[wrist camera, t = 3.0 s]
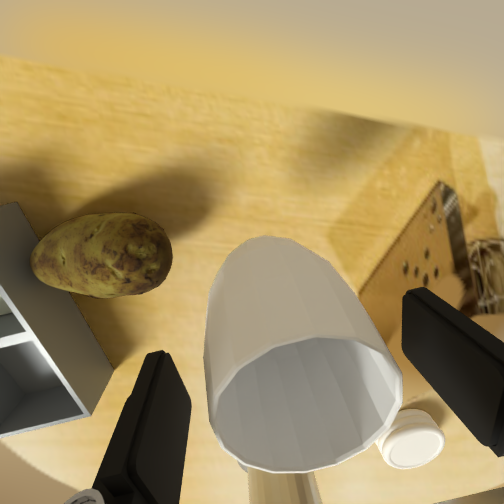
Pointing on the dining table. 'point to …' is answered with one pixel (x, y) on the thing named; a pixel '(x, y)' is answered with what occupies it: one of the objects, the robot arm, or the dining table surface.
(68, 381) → the divided open storage box
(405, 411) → the coaster
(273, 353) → the cup
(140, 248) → the potato
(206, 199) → the dining table surface
